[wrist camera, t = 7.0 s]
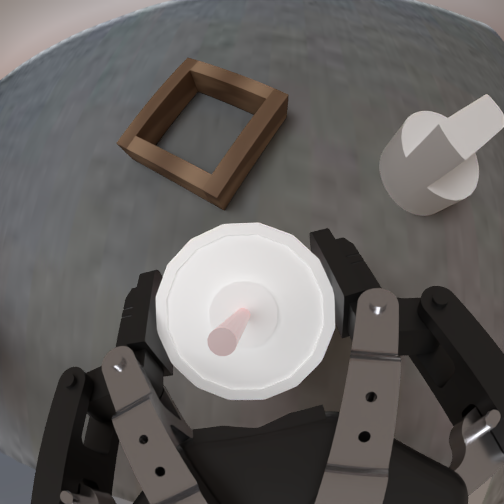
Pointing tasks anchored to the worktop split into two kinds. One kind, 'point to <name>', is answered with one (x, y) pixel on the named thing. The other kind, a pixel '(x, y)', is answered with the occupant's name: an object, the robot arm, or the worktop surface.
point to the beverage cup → (245, 311)
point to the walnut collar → (174, 101)
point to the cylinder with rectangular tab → (438, 156)
